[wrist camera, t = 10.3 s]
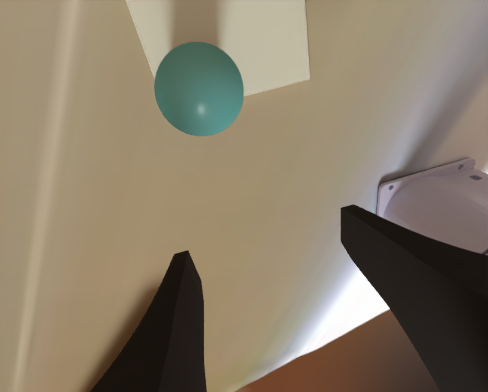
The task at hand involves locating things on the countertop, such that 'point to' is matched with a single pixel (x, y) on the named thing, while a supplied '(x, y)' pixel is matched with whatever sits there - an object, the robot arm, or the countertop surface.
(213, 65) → the marker
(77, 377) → the countertop surface
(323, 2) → the countertop surface
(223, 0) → the notepad
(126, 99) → the countertop surface
